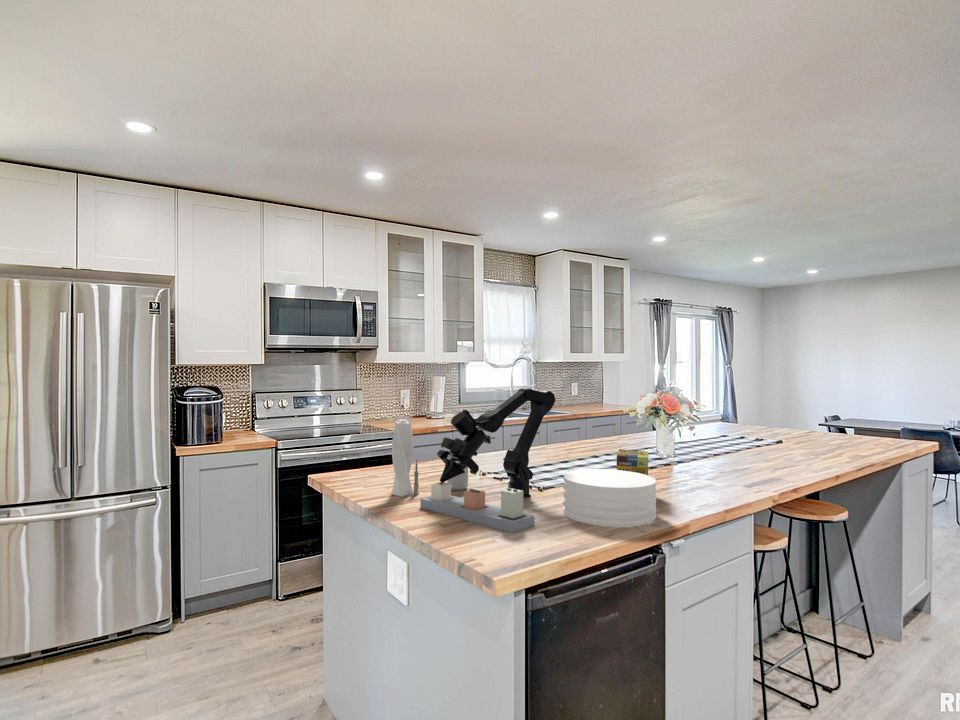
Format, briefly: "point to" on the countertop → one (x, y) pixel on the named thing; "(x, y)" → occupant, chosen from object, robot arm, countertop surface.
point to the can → (459, 481)
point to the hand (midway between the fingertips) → (441, 481)
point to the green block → (511, 503)
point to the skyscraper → (403, 459)
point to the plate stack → (609, 497)
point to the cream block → (441, 491)
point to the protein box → (632, 461)
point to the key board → (478, 514)
